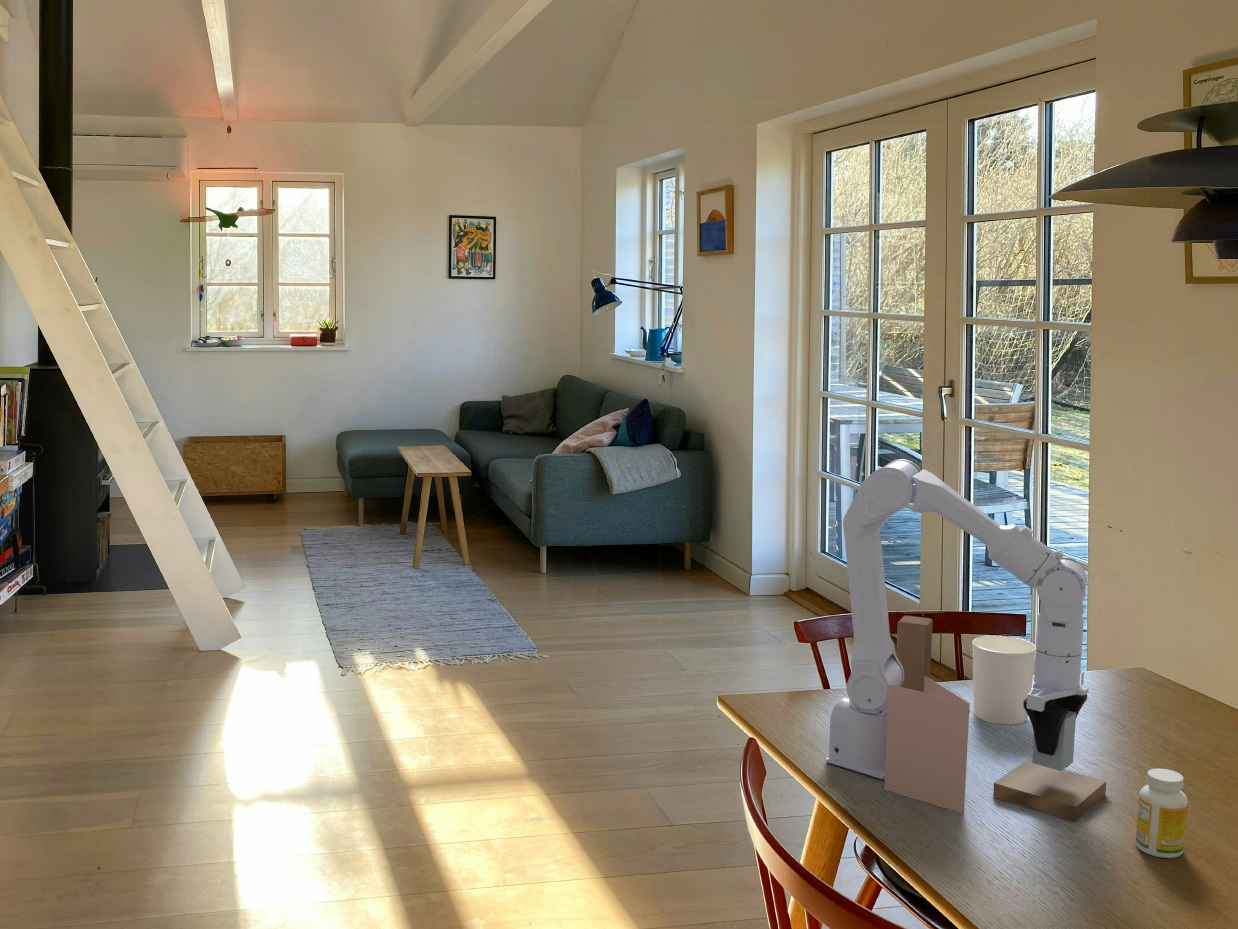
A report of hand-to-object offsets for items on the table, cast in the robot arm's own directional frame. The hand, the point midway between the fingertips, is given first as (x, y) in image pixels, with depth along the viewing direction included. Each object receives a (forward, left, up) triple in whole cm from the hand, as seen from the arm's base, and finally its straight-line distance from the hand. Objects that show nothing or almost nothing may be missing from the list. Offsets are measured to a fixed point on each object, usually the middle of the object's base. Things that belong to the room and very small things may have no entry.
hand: (1052, 748), depth 156 cm
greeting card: (-13, -12, -7) cm, 19 cm away
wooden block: (-23, +9, -7) cm, 26 cm away
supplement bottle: (+16, -6, -7) cm, 18 cm away
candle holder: (-18, +25, -7) cm, 32 cm away
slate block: (0, 0, -2) cm, 2 cm away
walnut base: (0, 0, -7) cm, 7 cm away
